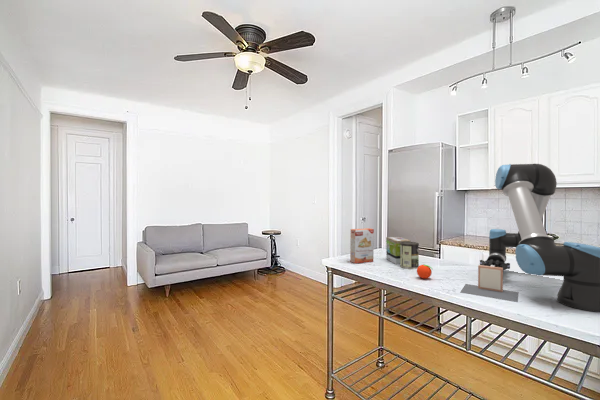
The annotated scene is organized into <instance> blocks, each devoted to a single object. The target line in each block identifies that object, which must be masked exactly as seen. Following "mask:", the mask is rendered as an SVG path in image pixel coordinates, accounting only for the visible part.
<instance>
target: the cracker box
mask: <svg viewBox="0 0 600 400" xmlns="http://www.w3.org/2000/svg"><path fill="white" fill-rule="evenodd" d="M374 238H375V229H374V228H371V227H370V228H367V227H366V228H365V227H364V228H351V229H350V243H349V244H350V246H349V247H350V248H349V249H350V251H349V252H350V255H349V256H350V258H349V259H350V263H353V264H364V262H365V263H373V262H374V252H375V251H374V247H375V245H374V244H375V243H374V242H375V241H374V240H375V239H374Z"/></svg>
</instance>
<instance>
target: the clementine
mask: <svg viewBox="0 0 600 400" xmlns="http://www.w3.org/2000/svg"><path fill="white" fill-rule="evenodd" d="M416 274H417V275H418V277H419V278H421V279H424V280H427V279H429V278H430V277H431V276H432V267H431V266H430V265H429V264H420V265H419V267H418V268H417V269H416Z"/></svg>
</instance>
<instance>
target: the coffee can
mask: <svg viewBox="0 0 600 400" xmlns="http://www.w3.org/2000/svg"><path fill="white" fill-rule="evenodd" d="M419 252H420V251H419V243H418V242H417V241H416V242H415V241H411V242H400V264H399V267H400V268H402V269H405V270H406V269H407V270H417V268H418V267H419V266H420V265H419V262H420V261H419V260H420V258H419Z"/></svg>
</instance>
